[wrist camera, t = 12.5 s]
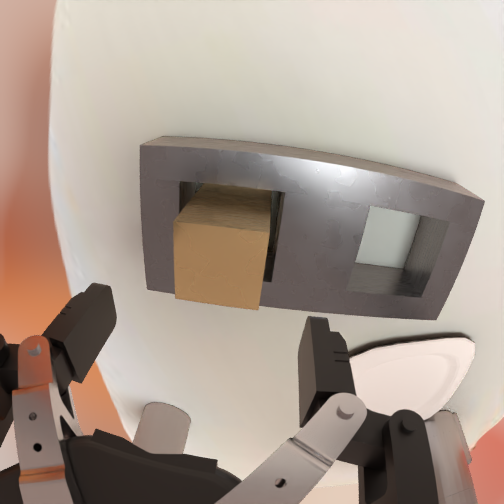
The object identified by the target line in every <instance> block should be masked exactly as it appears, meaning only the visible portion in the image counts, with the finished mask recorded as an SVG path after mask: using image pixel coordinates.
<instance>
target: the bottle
mask: <svg viewBox="0 0 504 504" xmlns="http://www.w3.org/2000/svg"><path fill="white" fill-rule="evenodd" d="M190 423H191V420H190V417H189V416H188V415H187V414H186V413H185V412H184V411H182V410H180V409H179V408H177V407H174V406H172V405H169V404H165V403H158V402H154V403H149V404H147V405H146V406H145V409H144V412H143V414H142V417H141V420H140V423H139V425H138V428H137V431H136V434H135V437H134V440H133V444H134V445H136V446H138V447H140V448H141V449H143V450H145V451H147V452H149V453H153V454H183V451H184V447H185V443H186V439H187V435H188V431H189V426H190Z"/></svg>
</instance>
